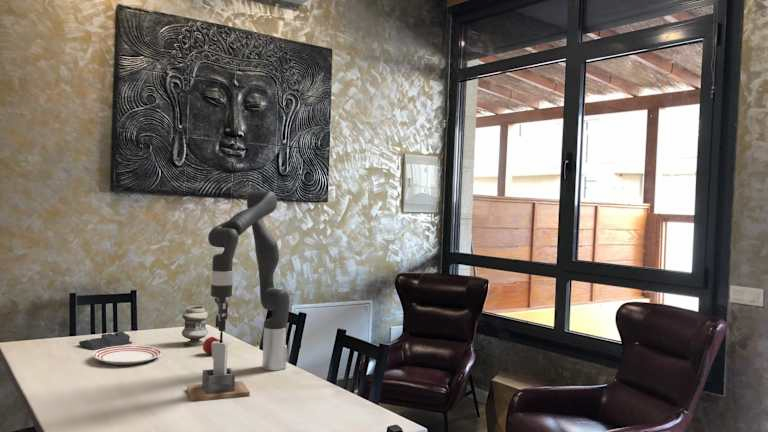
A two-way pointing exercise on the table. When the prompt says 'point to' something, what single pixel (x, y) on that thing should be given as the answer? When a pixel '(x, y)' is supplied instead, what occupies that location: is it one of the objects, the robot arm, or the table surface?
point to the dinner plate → (127, 354)
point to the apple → (209, 345)
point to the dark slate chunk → (107, 341)
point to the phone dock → (217, 387)
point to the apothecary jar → (195, 325)
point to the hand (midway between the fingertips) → (220, 328)
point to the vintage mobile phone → (219, 356)
